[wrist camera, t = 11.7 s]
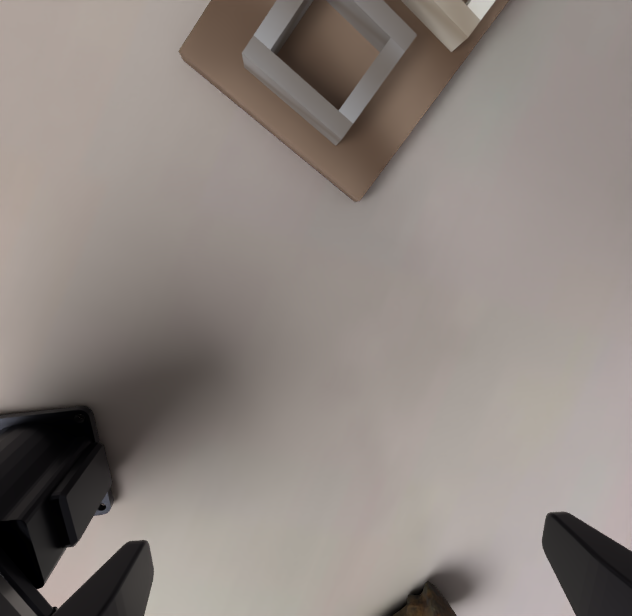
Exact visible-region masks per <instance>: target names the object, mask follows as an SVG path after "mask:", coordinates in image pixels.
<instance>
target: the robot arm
mask: <svg viewBox="0 0 632 616" xmlns="http://www.w3.org/2000/svg"><path fill="white" fill-rule="evenodd" d="M78 414H81V415H83V416H84V418H85V419H81V418H79V416H78ZM111 485H112V479H111V474H110V470H109V466H108V462H107V457H106V453H105V449H104V445H103V444H102V443H101V442H100V441H99V437H98V432H97V428H96V424H95V420H94V416H93V412H92V410H91V409H89V408H88V407H86V406H77V407H69V408H60V409H51V410H42V411H33V412H24V413H15V414H7V415H0V616H144V614H145V610H146V606H147V602H148V598H149V594H150V590H151V586H152V582H153V575H154V568H153V562H152V557H151V552H150V546H149V543H148V542H147V541H145V540H140V541H129V542H127V543H126V544H125V545H123V546H122V547H121V548H120V549H119V550H118V551H117V552H116V553H115V554H114V555H113V556H112V557H111V558H110V559H109V560H108V561H107V562H106V563H105V564H104V565H103V566H102V567H101V568H100V569H99V570H98V571H97V572H96V573H95V574H94V575H93V576H92V577H91V578H89V579H88V580H87V581H86V582H85V583H84V584H83V585H82V586H81V587H80V588H79V589H78V590H77V591H76V592H75V593H74V594H73V595H72V596H71V597H70V598H69V599H68V600H67V601H66V602H65V603H64V604H63V605H62V606H61V607H60V608H59V609H58V608H57V607H52V606H51V605H50V604H49V603H48V602H47V601H46V599H45V598H44V597H43V596H42V595H41V594H40V592H39V591H38V590H37V589H39V588H42V587H43V586H44V584H45V583H46V581H47V579H48V578H49V576H50V574H51V573H52V571H53V569H54V568H55V566H56V565H57V563H58V561H59V560H60V558H61V556H62V555H63V553H64V551H65V550H66V548H67V547H74V546H75V545H76V544H77V542H78V541H79V540H80V538H81V537H82V535H83V533H84V531H85V530H86V528H87V526H88V525H89V523H90V521H91V519H92V518H93V516H96V515H103V514H106V513H108V512H109V511H110V509H111V507H112V505H113V501H114V500H113V496H112V492H111V488H110V487H111ZM101 503H103V504H105V505H101ZM542 546H543V549H544V552H545V554H546V556H547V558H548V560H549V562H550V564H551V566H552V568H553V570H554V572H555V574H556V576H557V578H558V580H559V582H560V584H561V586H562V588H563V590H564V592H565V594H566V596H567V598H568V600H569V602H570V604H571V606H572V608H573V610H574V612H575V614H576V616H632V551H630V550H629V549H627V548H625V547H624V546H622V545H620V544H619V543H617V542H615V541H614V540H612V539H611V538H609V537H607V536H606V535H604V534H602V533H601V532H599V531H598V530H596V529H594V528H593V527H591V526H589V525H588V524H586V523H584V522H583V521H581V520H580V519H578V518H576V517H575V516H573V515H571V514H570V513H567V512H550V513H548V514H547V516H546V519H545V525H544V531H543V537H542Z"/></svg>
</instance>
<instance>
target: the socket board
mask: <svg viewBox="0 0 632 616" xmlns="http://www.w3.org/2000/svg"><path fill="white" fill-rule="evenodd" d="M508 1H509V0H211V1H210V3H209V4H208V6H207V7H206V9H205V11H204V12H203V14H202V15H201V17H200V18H199V20H198V22H197V23H196V25H195V26H194V28H193V29H192V31H191V33H190V34H189V36H188V37H187V39H186V40H185V42H184V44H183V45H182V47H181V48H180V50H179V53H180V55H181V57H182V59H183V60H184V61H185V62H186V63H187V64H188V65H190V66H191V67H192V68H193V69H194V70H196V71H197V72H198V73H199V74H200V75H202V76H203V77H204V78H205V79H207V80H208V81H209V82H210V83H211V84H213V85H214V86H215V87H216V88H217V89H219V90H220V91H221V92H222V93H223V94H225V95H226V96H227V97H228V98H230V99H231V100H232V101H233V102H234V103H236V104H237V105H238V106H239V107H240V108H242V109H243V110H244V111H245V112H246V113H248V114H249V115H250V116H251V117H253V118H254V119H255V120H256V121H257V122H259V123H260V124H261V125H262V126H263V127H265V128H266V129H267V130H268V131H270V132H271V133H272V134H273V135H274V136H276V137H277V138H278V139H279V140H280V141H282V142H283V143H284V144H285V145H286V146H288V147H289V148H290V149H291V150H293V151H294V152H295V153H296V154H297V155H299V156H300V157H301V158H302V159H303V160H305V161H306V162H307V163H308V164H310V165H311V166H312V167H313V168H314V169H316V170H317V171H318V172H319V173H320V174H322V175H323V176H324V177H325V178H326V179H328V180H329V181H330V182H331V183H333V184H334V185H335V186H336V187H337V188H339V189H340V190H341V191H342V192H343V193H345V194H346V195H347V196H348V197H350V198H351V199H352V200H353V201H354V202H357V201H360V200H361V198H362V197H363V196H364V194H365V193H366V192H367V190H368V189H369V188H370V186H371V185H372V184H373V182H374V181H375V180H376V178H377V177H378V175H379V174H380V173H381V171H382V170H383V169H384V167H385V166H386V165H387V163H388V162H389V161H390V159H391V158H392V157H393V155H394V154H395V153H396V151H397V150H398V149H399V147H400V146H401V145H402V143H403V142H404V141H405V139H406V138H407V137H408V135H409V134H410V133H411V131H412V130H413V129H414V127H415V126H416V125H417V123H418V122H419V120H420V119H421V118H422V116H423V115H424V114H425V112H426V111H427V110H428V108H429V107H430V106H431V104H432V103H433V102H434V100H435V99H436V98H437V96H438V95H439V94H440V92H441V91H442V90H443V88H444V87H445V86H446V84H447V83H448V82H449V80H450V79H451V78H452V76H453V75H454V74H455V72H456V71H457V70H458V68H459V67H460V65H461V64H462V63H463V61H464V60H465V59H466V57H467V56H468V55H469V53H470V52H471V51H472V49H473V48H474V47H475V45H476V44H477V43H478V41H479V40H480V39H481V37H482V36H483V35H484V33H485V32H486V31H487V29H488V28H489V27H490V25H491V24H492V23H493V21H494V20H495V19H496V17H497V16H498V15H499V13H500V12H501V10H502V9H503V8H504V6H505V5H506V4H507V2H508Z"/></svg>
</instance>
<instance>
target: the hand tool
mask: <svg viewBox="0 0 632 616" xmlns="http://www.w3.org/2000/svg"><path fill="white" fill-rule="evenodd" d="M393 616H456V614H455V612H454V611H453V610H452V608H451V607H450V605H449V603H448V602H447V601H446V599H445V598H444V597H443V595H442V594H441V593H440V591H439V590H438V589H437V588H436V587H435V586H434V585H433V584H431V583H430V582H426V583H425V586H424V589H423V592H422V593H421V594H420V595H408V598H407V605H406V606H405V607H403V608H402V609H401V610H399V611H398V612H397V613H395V614H394V615H393Z"/></svg>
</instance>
